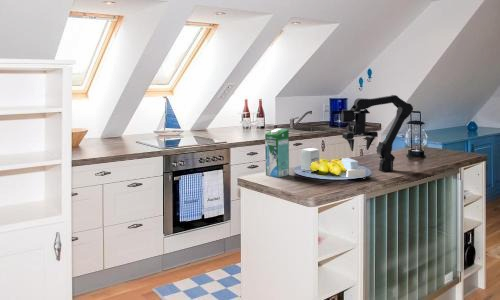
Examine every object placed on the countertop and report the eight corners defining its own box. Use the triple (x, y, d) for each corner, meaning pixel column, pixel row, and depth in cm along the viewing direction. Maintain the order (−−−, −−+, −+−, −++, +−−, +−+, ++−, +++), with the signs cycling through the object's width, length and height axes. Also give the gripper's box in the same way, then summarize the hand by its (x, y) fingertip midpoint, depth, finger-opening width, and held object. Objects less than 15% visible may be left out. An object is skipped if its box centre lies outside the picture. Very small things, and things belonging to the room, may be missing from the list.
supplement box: (310, 173, 264) (310, 150, 262) (300, 171, 269) (300, 149, 267) (319, 171, 268) (319, 149, 266) (310, 169, 274) (309, 147, 272)
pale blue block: (357, 170, 250) (357, 161, 249) (350, 171, 249) (350, 161, 248) (348, 167, 260) (348, 157, 259) (341, 167, 259) (341, 158, 258)
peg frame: (334, 174, 261) (334, 165, 260) (350, 172, 264) (350, 163, 263) (347, 180, 246) (348, 170, 245) (365, 178, 249) (365, 169, 248)
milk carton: (265, 175, 262) (264, 129, 258) (277, 172, 268) (276, 127, 264) (278, 177, 256) (277, 131, 251) (289, 174, 262) (288, 129, 257)
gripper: (367, 119, 270) (367, 147, 273) (337, 121, 265) (337, 149, 267) (378, 121, 259) (377, 150, 262) (347, 123, 254) (347, 152, 257)
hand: (359, 150), depth 262 cm, fingers open, 9 cm apart
